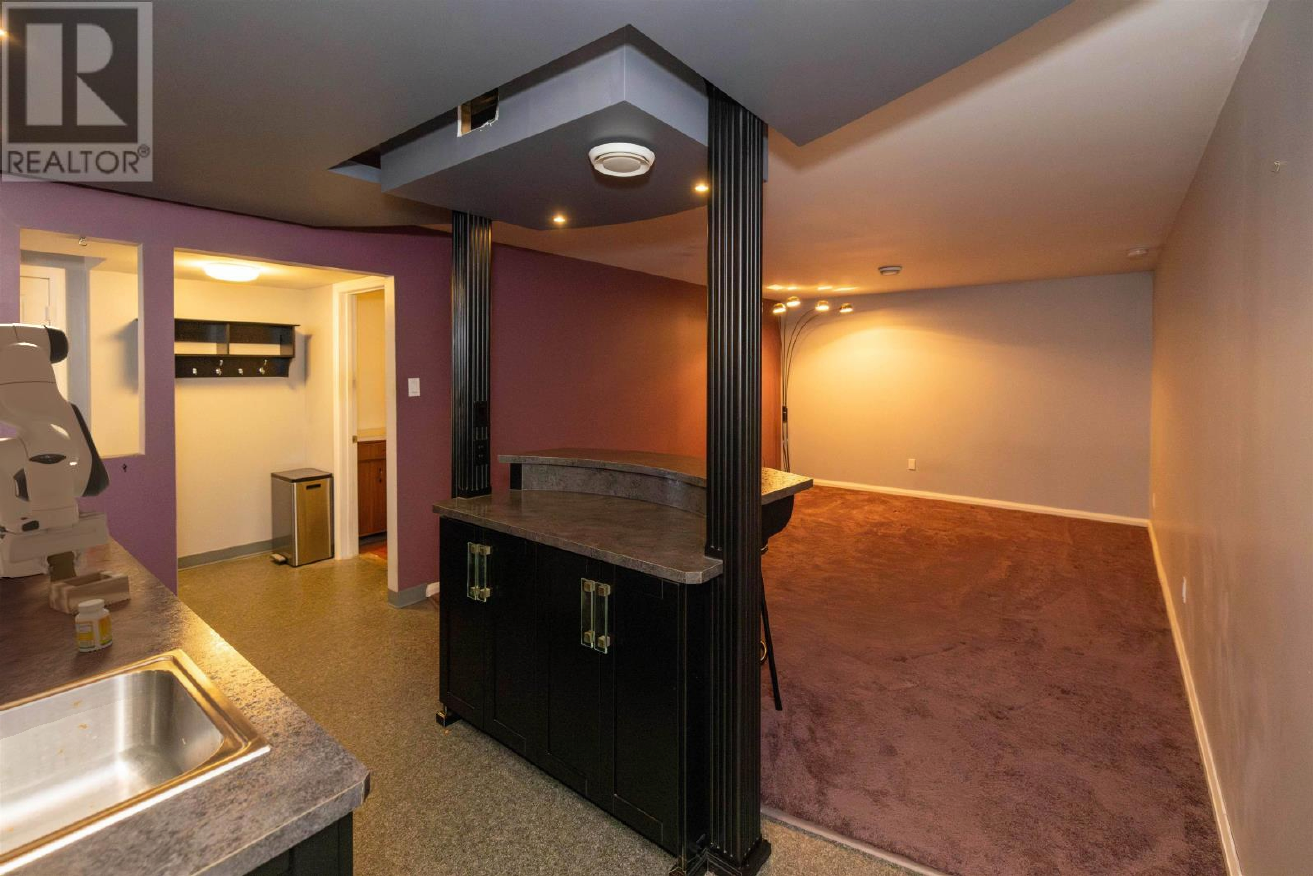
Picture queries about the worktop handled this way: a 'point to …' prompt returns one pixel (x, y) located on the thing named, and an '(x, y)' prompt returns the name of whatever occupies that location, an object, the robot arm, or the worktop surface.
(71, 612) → the shaker holder
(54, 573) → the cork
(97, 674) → the worktop surface
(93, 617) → the supplement bottle
